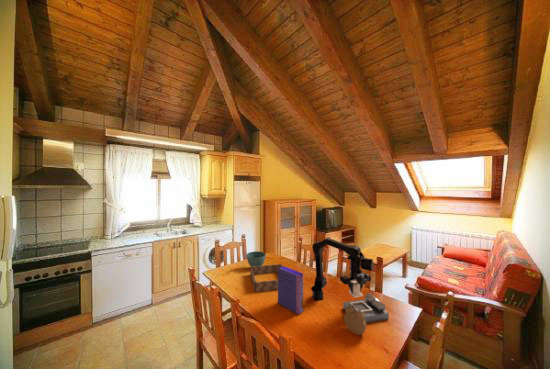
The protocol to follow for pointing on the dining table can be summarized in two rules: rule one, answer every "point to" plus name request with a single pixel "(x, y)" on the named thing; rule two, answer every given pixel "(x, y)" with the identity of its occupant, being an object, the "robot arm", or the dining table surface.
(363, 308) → the desk telephone
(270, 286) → the serving tray rim
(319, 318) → the dining table surface
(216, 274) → the dining table surface
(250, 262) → the plant pot
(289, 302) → the cereal box
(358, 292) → the pump
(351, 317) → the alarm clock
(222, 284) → the dining table surface
